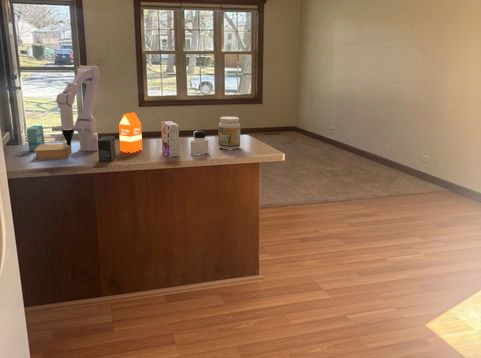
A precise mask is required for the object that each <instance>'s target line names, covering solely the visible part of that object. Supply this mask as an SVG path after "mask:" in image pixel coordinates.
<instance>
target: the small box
mask: <svg viewBox="0 0 481 358" xmlns="http://www.w3.org/2000/svg"><path fill="white" fill-rule="evenodd" d="M97 151H98V163H99V162H100V163H101V162H102V163H103V162H109V163H110V162H111V161H112V162H113V161H114V160H115V158H116V157H117V154H116V141H115V136H110V135H109V136H101V137H100V138H98V150H97Z"/></svg>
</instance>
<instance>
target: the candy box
mask: <svg viewBox="0 0 481 358" xmlns="http://www.w3.org/2000/svg"><path fill="white" fill-rule="evenodd" d="M160 124H161V150H162V153H163V154H164V155H165V154H166V155H167V156H166V155H165V156H166V157H167V158H179V157H180V125H179V124H178V123H176V122H174V121H172V120H169V121H168V120H166V121H164V120H163V121H161V123H160ZM178 156H179V157H178Z"/></svg>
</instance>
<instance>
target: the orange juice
mask: <svg viewBox="0 0 481 358" xmlns="http://www.w3.org/2000/svg"><path fill="white" fill-rule="evenodd" d="M118 130H119V131H118V132H119V147H120V152H121V151H122V152H123V153H128V152H130V154H133V152H134V153H136V151H137V152H140V151H139V150H141V151H143V139H142V138H143V137H142V136H143V135H142V134H143V133H142V123H141V120H139V118H138V116H137V114H136V112H128V113H124V114H123V116H122V118H121V120H120V122H119V124H118Z"/></svg>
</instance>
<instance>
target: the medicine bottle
mask: <svg viewBox="0 0 481 358" xmlns="http://www.w3.org/2000/svg"><path fill="white" fill-rule="evenodd" d="M207 152H208V153H209V139H207V138H206V131H205V130H195V131H193V139H192V140H190V155H192V154H202V155H201V156H204V155H203V154H205V153H207ZM208 153H207V154H208ZM205 155H206V154H205Z"/></svg>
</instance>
